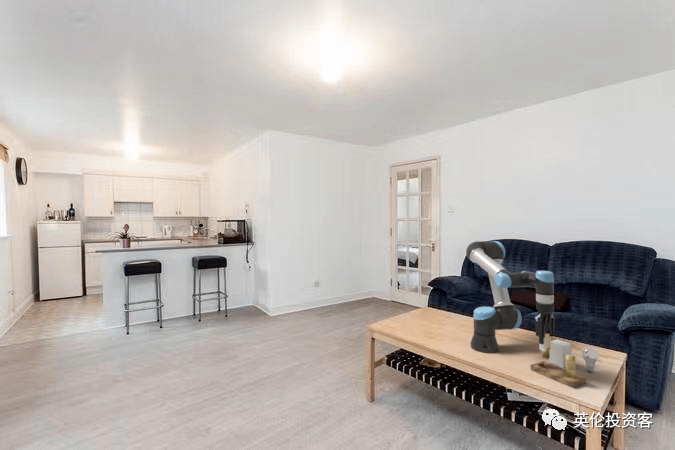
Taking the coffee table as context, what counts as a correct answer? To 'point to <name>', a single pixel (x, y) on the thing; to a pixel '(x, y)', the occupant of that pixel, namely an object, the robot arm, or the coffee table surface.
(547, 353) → the pin
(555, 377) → the board
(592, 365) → the light bulb
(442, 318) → the coffee table surface
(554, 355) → the block
